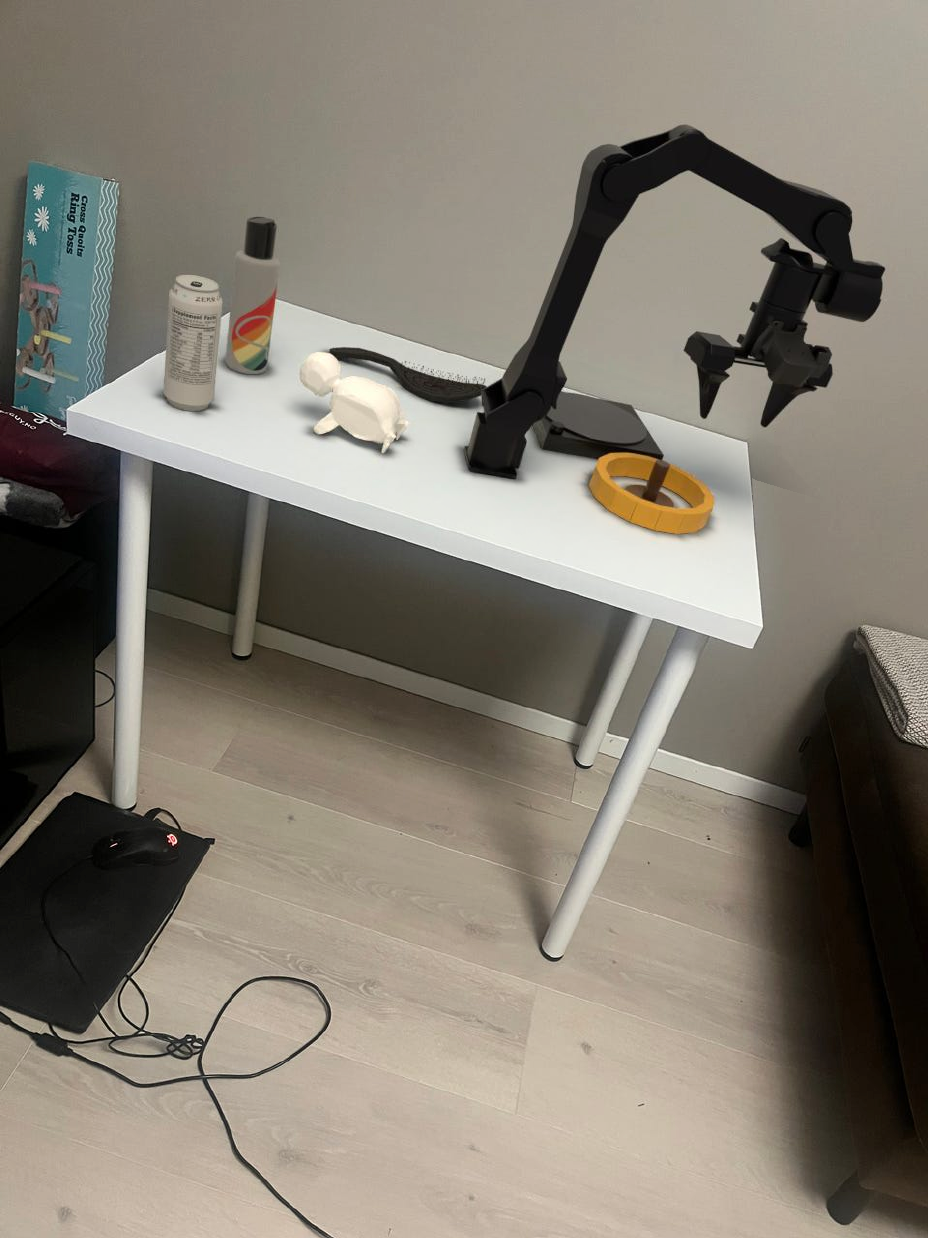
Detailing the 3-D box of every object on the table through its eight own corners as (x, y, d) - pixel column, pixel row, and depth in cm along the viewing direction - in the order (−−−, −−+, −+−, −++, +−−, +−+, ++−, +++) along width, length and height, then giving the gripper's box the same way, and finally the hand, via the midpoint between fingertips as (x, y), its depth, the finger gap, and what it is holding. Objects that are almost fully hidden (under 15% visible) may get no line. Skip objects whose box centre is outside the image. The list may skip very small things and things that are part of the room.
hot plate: (542, 449, 129) (549, 427, 127) (521, 398, 144) (527, 378, 142) (658, 469, 134) (666, 448, 132) (626, 418, 148) (633, 398, 146)
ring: (606, 522, 115) (613, 502, 113) (578, 463, 128) (584, 444, 127) (722, 541, 119) (731, 522, 117) (683, 482, 132) (691, 463, 130)
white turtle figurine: (389, 452, 123) (302, 380, 122) (423, 405, 119) (332, 330, 117) (366, 474, 116) (273, 399, 115) (401, 426, 112) (304, 346, 110)
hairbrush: (343, 329, 141) (494, 375, 137) (340, 352, 143) (489, 398, 139) (320, 342, 134) (478, 390, 130) (317, 366, 136) (473, 414, 132)
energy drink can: (217, 398, 117) (228, 281, 109) (207, 416, 112) (218, 295, 104) (169, 387, 116) (176, 269, 108) (157, 406, 111) (164, 283, 103)
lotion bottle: (262, 378, 125) (280, 228, 114) (220, 368, 125) (235, 216, 114) (270, 364, 130) (288, 218, 119) (230, 354, 129) (244, 207, 118)
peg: (630, 510, 120) (646, 471, 117) (617, 484, 126) (631, 446, 122) (678, 518, 122) (695, 479, 118) (663, 492, 127) (679, 455, 124)
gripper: (747, 314, 102) (696, 441, 110) (883, 339, 107) (823, 458, 116) (706, 283, 110) (661, 403, 119) (833, 307, 116) (781, 420, 125)
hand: (733, 421), depth 120 cm, fingers open, 9 cm apart
